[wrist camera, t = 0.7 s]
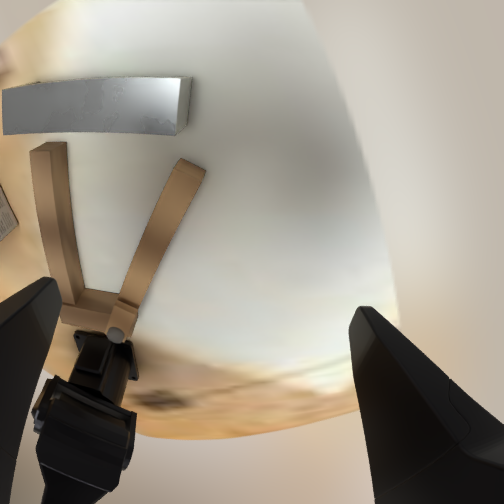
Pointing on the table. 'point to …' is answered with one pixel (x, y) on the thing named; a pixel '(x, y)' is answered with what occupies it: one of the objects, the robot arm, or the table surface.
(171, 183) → the bar
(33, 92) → the grey bracket bar
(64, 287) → the base
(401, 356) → the robot arm
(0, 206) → the coffee box
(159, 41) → the table surface
